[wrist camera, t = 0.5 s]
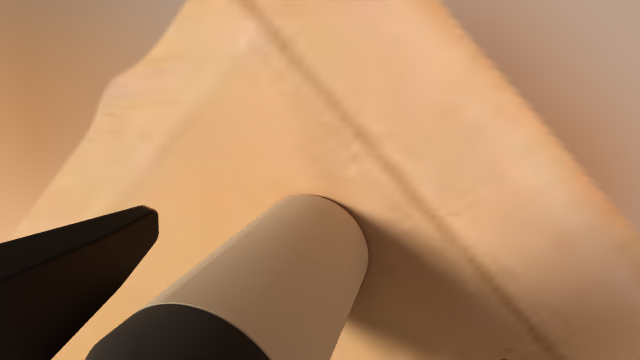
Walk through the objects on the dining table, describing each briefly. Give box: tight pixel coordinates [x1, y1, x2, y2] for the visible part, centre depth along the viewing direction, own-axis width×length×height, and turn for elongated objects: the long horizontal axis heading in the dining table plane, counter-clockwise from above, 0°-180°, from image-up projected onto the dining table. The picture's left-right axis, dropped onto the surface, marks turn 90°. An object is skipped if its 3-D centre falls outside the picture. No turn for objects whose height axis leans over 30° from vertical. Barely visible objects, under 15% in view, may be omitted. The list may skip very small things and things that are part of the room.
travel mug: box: [85, 195, 368, 360], centre depth 19 cm, size 8×8×18 cm
